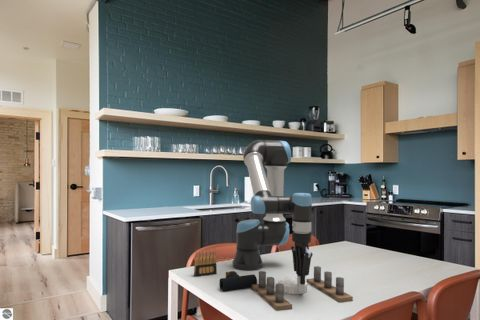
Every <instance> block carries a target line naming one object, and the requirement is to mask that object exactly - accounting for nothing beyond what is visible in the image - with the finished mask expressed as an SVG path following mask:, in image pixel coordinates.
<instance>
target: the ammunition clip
mask: <svg viewBox="0 0 480 320" xmlns="http://www.w3.org/2000/svg"><path fill="white" fill-rule="evenodd" d="M217 269H218V268H217V251H216V248H214V249H212V248H210V250H209V248H207V249H206V250H205V249H203V250H201V249H200V250H199V251H198V249H196V251H195V259H194V269H193V270H194V271H193V276H194V277H195V278H197V277H198V278H200V277H205V276H206V277H207V276H213V275H218V273H217V272H218V271H217Z"/></svg>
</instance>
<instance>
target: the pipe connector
mask: <svg viewBox="0 0 480 320" xmlns="http://www.w3.org/2000/svg"><path fill="white" fill-rule="evenodd" d="M218 284H219V288H220V290H221V291H222V292H228V291H233V290H234V291H235V290H241V289H247V288H252V285H253V284H258V278H257V276H256V274H245V275H239V274H238V272H237V271H235V270H230V271H225V277H221V278H220V279H219V283H218Z"/></svg>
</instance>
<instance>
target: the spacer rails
mask: <svg viewBox="0 0 480 320" xmlns="http://www.w3.org/2000/svg"><path fill="white" fill-rule="evenodd" d="M323 278H324V279H322V267H321V266H318V265H316V266H313V277H312V278H305V281H306V282H307V285H310V286H312V287H313V288H314V289H317V290H318V291H320V292H321V293H323V294H325V295H327V296H328V297H330V298H331V299H333V300H334V301H336V302H338V303H345V302H346V303H347V302H353V300H354V298H353V295H351V294H348V293H347V292H345V278H344V277H339V276H337V277H335V286H334V285H333V273H332V271H324V273H323ZM251 289H252V290H253V291H254V292H256V294H258V295H259V296H260V297H261V298H262V299H263V300H264V301H265V302H266V303H268V304H269V306H271V307H272V308H273V309H274V310H275V311H277V312H278V311H285V310H292V309H293V304H292V303H291V302H289V300H287V299H286V298H285V297H284V295H285V293H284V284H281V283H278V282H277V283H276V284H275V277H273V276H268V277H267V272H266V271H264V270H261V271H260V270H259V271H258V283H257V284H253V285H252V287H251Z"/></svg>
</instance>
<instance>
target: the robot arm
mask: <svg viewBox="0 0 480 320" xmlns="http://www.w3.org/2000/svg"><path fill="white" fill-rule="evenodd" d="M242 158H243V163H244V165H245V166H246V167H247V171H248V175H249V180H250V183H251V184H250V185H251V188H252V193H253V196H252V197H251V199H250V210H251V213H253V214H255V215H256V214H257V215H258V214H259V215H265V216H264V217H263V221H260V220H259V219H257V218H255V219H245V220H241V221H239V222H238V223H237V226H236V232H235V233H236V248H235V249H236V251H235V254H234V257H233V260H232V267H233V268H234V269H236V270H241V271H257V270H261V269H262V268H263V260H262V257H261V254H260V246H283V245H286V243H287V242H288V240H289V237H290V224H289V223H288V222H287V221H286V220H287V219H286V218H285V217H284V215H291V216H292V219H291V220H292V224H291V227H292V229H291V230H292V231H293V232H292V233H291V240H292V242H293V243H294V244H293V246H291V247H290V248H291V253H292V263H293V264H292V265H293V271H294V272H295V274H296V278H297V292H299V293H300V292H305V281H306V277H307V276H309V274H310V269H311V268H310V267H311V261H312V257H313V252H312V251H311V252H310V250H309V249H310V246H309V245H310V244H311V242H312V204H313V202H312V200H313V199H312V194H311V193H306V192H294V193H293V194H292V195H287V196H286V195H284V188H285V187H284V182H285V181H284V180H285V169H286V168H287V167H288V164H290V163H291V161H292V150H291V146H290V144H289V143H288V142H287V141H285V140H276V139H275V140H273V139H272V140H271V139H270V140H269V139H267V140H266V139H258V140H254V141H251V142H250V144H248V145H247V147H246V148H245V150H244V153H243V157H242ZM265 168H266V170H267V172H266V171H265ZM309 243H310V244H309ZM305 293H306V292H305Z"/></svg>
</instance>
